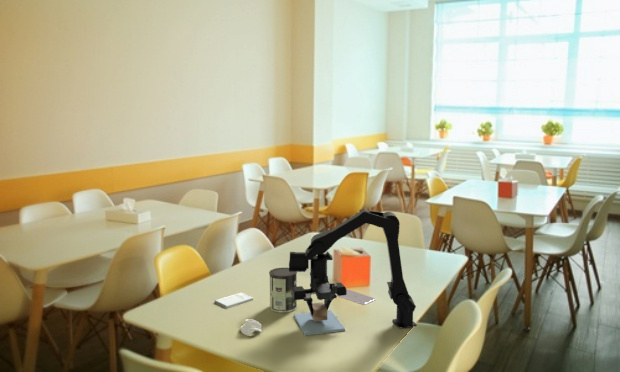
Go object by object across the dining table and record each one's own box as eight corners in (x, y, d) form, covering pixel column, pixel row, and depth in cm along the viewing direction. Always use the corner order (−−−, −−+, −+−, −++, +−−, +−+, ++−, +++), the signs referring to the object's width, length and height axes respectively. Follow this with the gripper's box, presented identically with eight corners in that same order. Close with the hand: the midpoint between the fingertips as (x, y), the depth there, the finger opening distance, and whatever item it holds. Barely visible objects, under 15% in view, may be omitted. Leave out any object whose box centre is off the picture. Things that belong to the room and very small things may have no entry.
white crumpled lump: (236, 333, 176) (234, 320, 176) (252, 325, 181) (250, 312, 180) (251, 339, 171) (249, 325, 170) (266, 331, 175) (264, 318, 174)
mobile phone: (364, 303, 198) (335, 293, 209) (364, 306, 198) (335, 295, 209) (376, 298, 204) (347, 288, 214) (376, 300, 204) (347, 290, 214)
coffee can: (294, 301, 202) (294, 266, 199) (298, 312, 192) (298, 275, 189) (268, 303, 200) (268, 267, 198) (270, 313, 190) (270, 276, 188)
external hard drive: (214, 303, 201) (240, 295, 209) (226, 310, 195) (253, 301, 203) (214, 299, 201) (240, 291, 209) (226, 305, 195) (253, 297, 203)
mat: (344, 330, 176) (344, 328, 176) (304, 335, 173) (304, 333, 172) (330, 312, 191) (330, 310, 191) (293, 316, 188) (293, 314, 188)
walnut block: (322, 313, 185) (322, 302, 184) (327, 319, 179) (327, 308, 179) (310, 314, 184) (310, 303, 183) (314, 321, 178) (314, 310, 178)
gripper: (297, 281, 169) (298, 326, 171) (352, 276, 174) (351, 320, 176) (290, 270, 180) (290, 313, 182) (341, 266, 184) (341, 308, 187)
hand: (318, 314), depth 181 cm, fingers closed on walnut block, 4 cm apart
